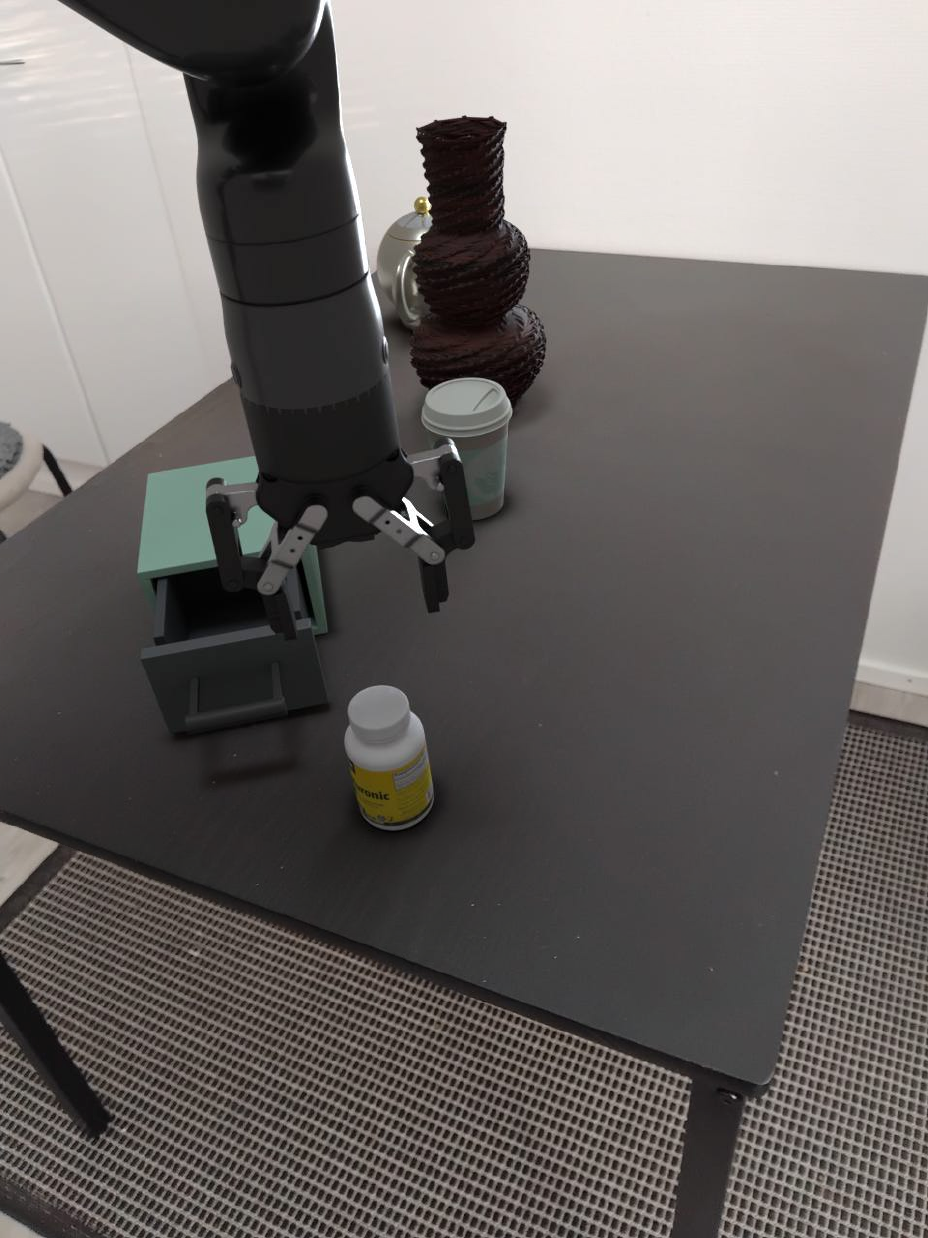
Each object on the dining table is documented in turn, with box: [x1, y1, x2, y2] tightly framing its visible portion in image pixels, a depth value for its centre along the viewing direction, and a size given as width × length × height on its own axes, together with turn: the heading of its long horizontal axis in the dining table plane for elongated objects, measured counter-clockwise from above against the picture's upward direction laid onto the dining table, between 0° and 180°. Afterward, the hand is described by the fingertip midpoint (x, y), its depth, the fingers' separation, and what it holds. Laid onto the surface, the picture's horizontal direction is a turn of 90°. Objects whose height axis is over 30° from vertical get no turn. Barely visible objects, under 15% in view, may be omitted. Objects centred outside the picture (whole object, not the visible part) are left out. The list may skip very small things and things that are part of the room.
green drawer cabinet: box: [136, 455, 329, 636], centre depth 87 cm, size 16×14×10 cm
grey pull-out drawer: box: [140, 560, 330, 735], centre depth 77 cm, size 20×12×8 cm, turn 11°
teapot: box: [375, 196, 440, 331], centre depth 128 cm, size 18×14×16 cm
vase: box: [408, 114, 547, 413], centre depth 104 cm, size 15×15×30 cm
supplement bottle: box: [343, 684, 435, 831], centre depth 66 cm, size 5×5×10 cm
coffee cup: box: [420, 378, 513, 521], centre depth 94 cm, size 8×8×12 cm
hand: (361, 618), depth 59 cm, fingers open, 8 cm apart
